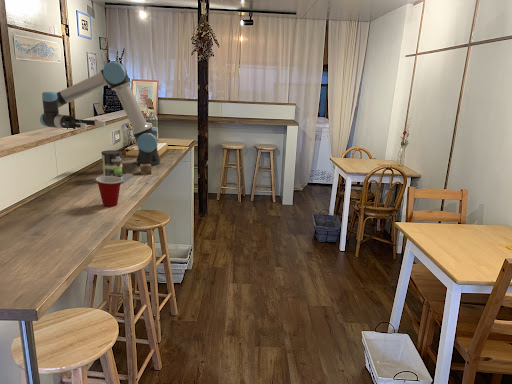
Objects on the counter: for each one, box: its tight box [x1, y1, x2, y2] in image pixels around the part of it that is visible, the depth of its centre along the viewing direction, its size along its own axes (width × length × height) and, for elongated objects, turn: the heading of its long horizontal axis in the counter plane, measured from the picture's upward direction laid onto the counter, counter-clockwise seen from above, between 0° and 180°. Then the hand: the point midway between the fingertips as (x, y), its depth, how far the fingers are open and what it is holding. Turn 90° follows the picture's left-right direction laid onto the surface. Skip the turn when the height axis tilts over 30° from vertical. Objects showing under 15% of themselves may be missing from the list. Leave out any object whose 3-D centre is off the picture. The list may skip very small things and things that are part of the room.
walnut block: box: [139, 164, 152, 175], centre depth 227 cm, size 6×6×5 cm
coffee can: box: [100, 149, 124, 178], centre depth 210 cm, size 10×10×14 cm
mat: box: [92, 173, 134, 184], centre depth 212 cm, size 16×16×1 cm
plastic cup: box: [95, 175, 123, 208], centre depth 169 cm, size 11×11×12 cm
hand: (95, 125), depth 209 cm, fingers open, 13 cm apart
